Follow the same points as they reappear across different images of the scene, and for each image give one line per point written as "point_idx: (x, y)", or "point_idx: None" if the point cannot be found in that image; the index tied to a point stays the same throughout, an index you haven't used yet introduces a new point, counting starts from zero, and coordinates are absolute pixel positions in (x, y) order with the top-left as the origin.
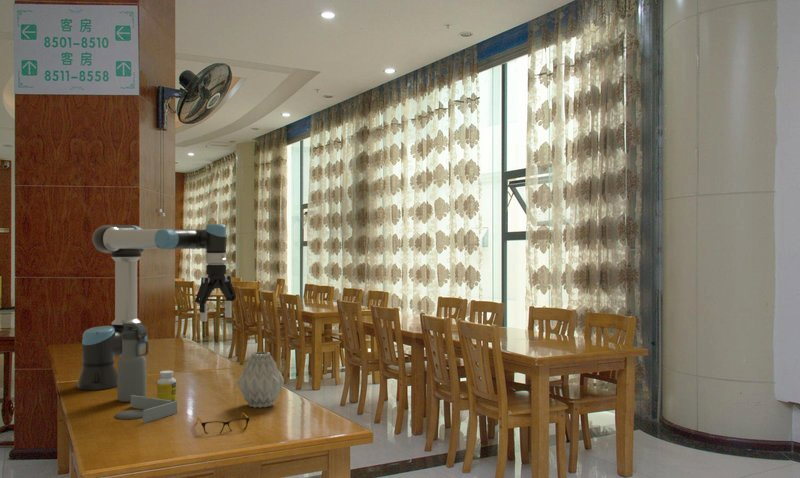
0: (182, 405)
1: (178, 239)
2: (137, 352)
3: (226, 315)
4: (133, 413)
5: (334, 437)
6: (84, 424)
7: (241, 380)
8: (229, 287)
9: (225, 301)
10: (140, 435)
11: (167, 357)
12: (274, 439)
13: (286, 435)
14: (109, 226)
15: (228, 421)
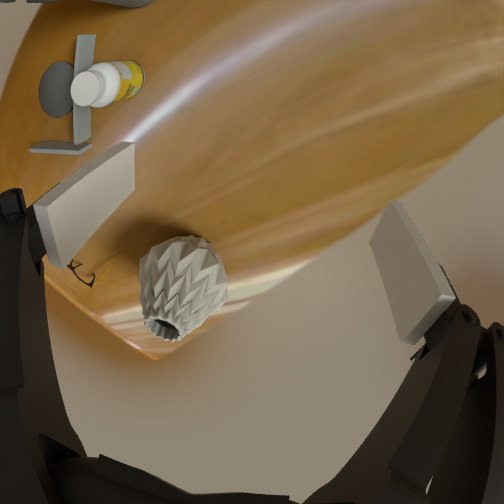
0: (134, 115)
1: None
2: (46, 1)
3: (387, 220)
4: (58, 88)
5: (127, 343)
6: (14, 76)
7: (141, 265)
8: (446, 469)
9: (436, 294)
10: (21, 181)
11: None
12: (92, 307)
13: (106, 313)
14: None
15: (72, 270)
